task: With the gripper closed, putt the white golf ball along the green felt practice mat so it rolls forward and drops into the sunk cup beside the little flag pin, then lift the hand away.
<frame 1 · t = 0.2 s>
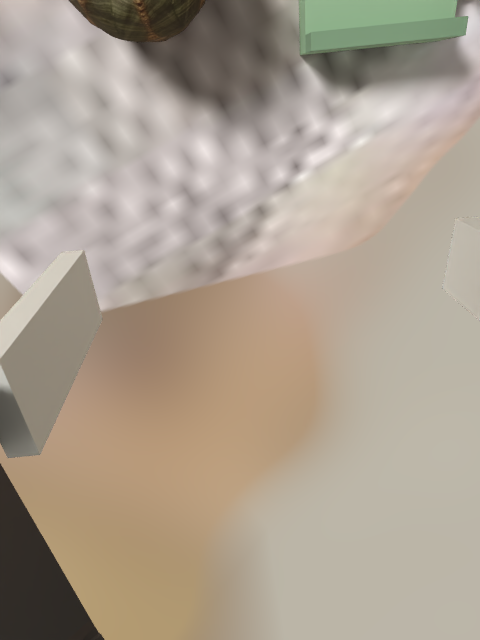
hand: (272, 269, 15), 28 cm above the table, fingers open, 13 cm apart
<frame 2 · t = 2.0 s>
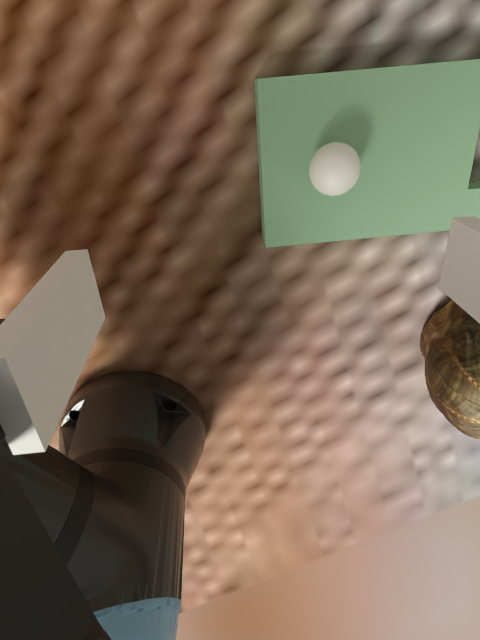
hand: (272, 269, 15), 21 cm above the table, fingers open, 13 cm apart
mat: (419, 151, 33), on the table
ball: (334, 169, 29), point 4 cm above the table, touching mat
ribbed round cactus: (451, 332, 42), on the table
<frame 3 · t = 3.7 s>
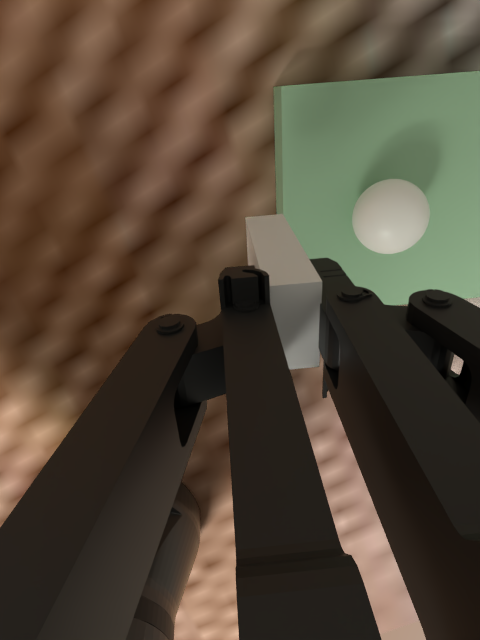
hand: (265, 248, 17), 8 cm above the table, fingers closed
ball: (389, 217, 20), point 4 cm above the table, touching mat
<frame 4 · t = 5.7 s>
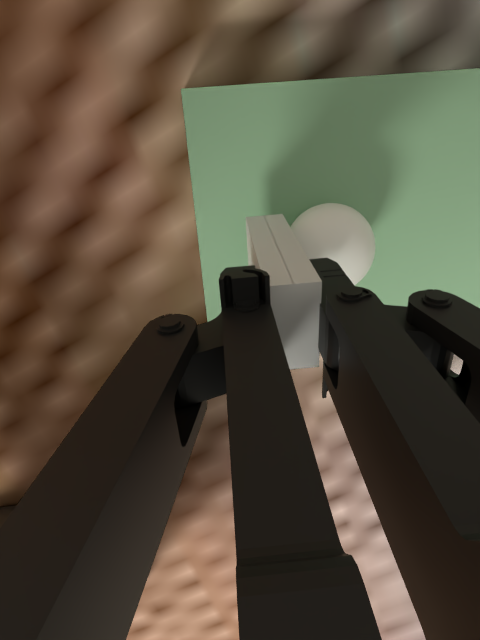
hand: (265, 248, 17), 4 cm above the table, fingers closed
mat: (459, 208, 20), on the table
ball: (328, 249, 17), point 4 cm above the table, tilted 8°, touching mat
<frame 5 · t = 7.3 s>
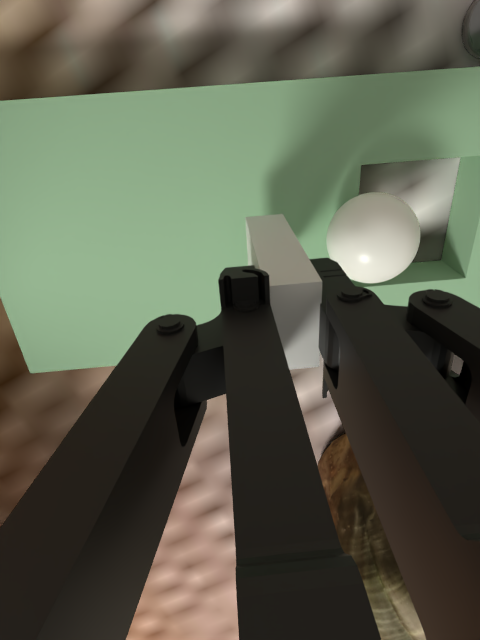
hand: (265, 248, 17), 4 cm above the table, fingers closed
mat: (276, 222, 20), on the table
ball: (371, 238, 17), point 4 cm above the table, touching mat
ribbed round cactus: (363, 460, 29), on the table
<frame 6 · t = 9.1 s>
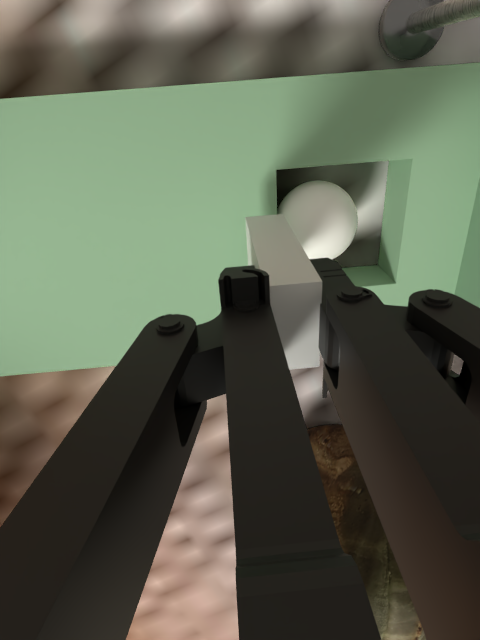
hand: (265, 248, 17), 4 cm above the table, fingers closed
mat: (205, 226, 20), on the table
ball: (315, 222, 18), point 2 cm above the table, tilted 78°
flag pin: (408, 25, 16), on the table
ribbed round cactus: (316, 465, 29), on the table
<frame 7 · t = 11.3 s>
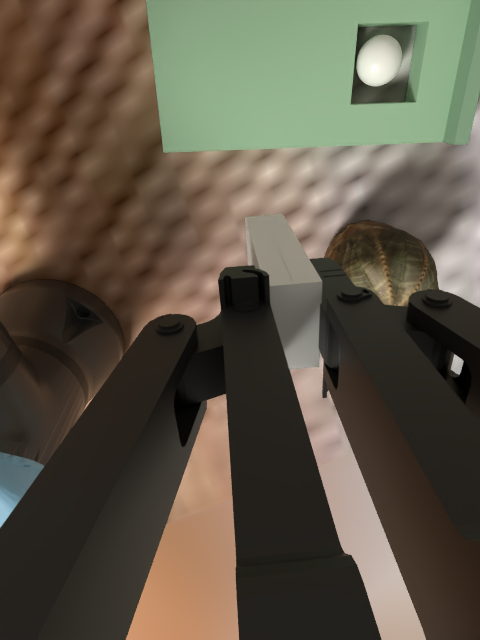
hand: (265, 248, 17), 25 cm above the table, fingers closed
mat: (309, 68, 35), on the table
ball: (378, 61, 34), point 2 cm above the table, tilted 90°
ribbed round cactus: (354, 260, 45), on the table
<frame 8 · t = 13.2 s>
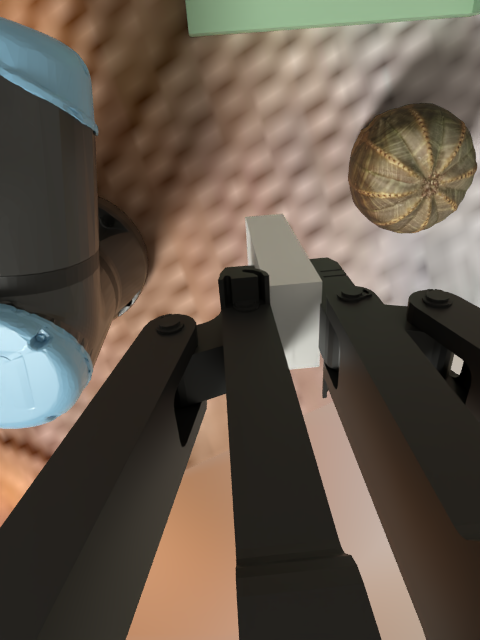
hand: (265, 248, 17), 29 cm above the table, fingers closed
ribbed round cactus: (381, 159, 44), on the table
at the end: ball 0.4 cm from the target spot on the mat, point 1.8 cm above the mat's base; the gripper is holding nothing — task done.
